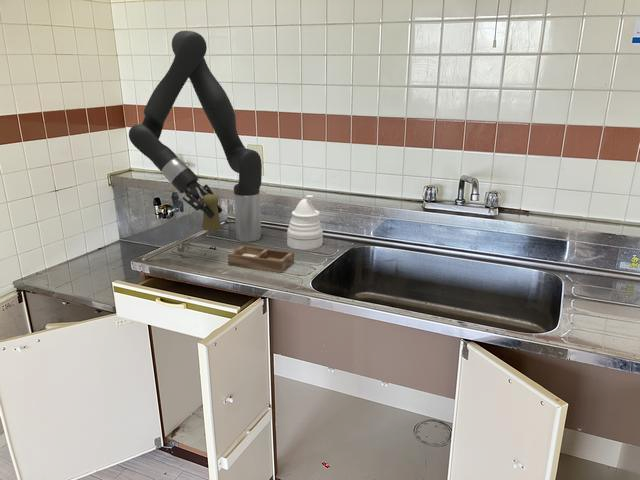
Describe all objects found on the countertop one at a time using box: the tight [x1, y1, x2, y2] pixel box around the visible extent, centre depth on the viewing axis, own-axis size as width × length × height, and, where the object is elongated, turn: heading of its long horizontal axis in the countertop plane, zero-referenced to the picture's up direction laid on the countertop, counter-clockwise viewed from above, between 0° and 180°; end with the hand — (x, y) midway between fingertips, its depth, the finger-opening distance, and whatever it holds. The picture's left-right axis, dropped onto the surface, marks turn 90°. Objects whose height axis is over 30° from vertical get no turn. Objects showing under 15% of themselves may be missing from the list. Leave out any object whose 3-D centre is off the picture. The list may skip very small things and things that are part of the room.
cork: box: [202, 194, 222, 232], centre depth 163 cm, size 6×6×11 cm
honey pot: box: [286, 194, 324, 251], centre depth 183 cm, size 13×13×18 cm
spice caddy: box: [227, 244, 295, 274], centre depth 165 cm, size 10×19×4 cm, turn 70°
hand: (216, 214), depth 163 cm, fingers closed on cork, 4 cm apart
